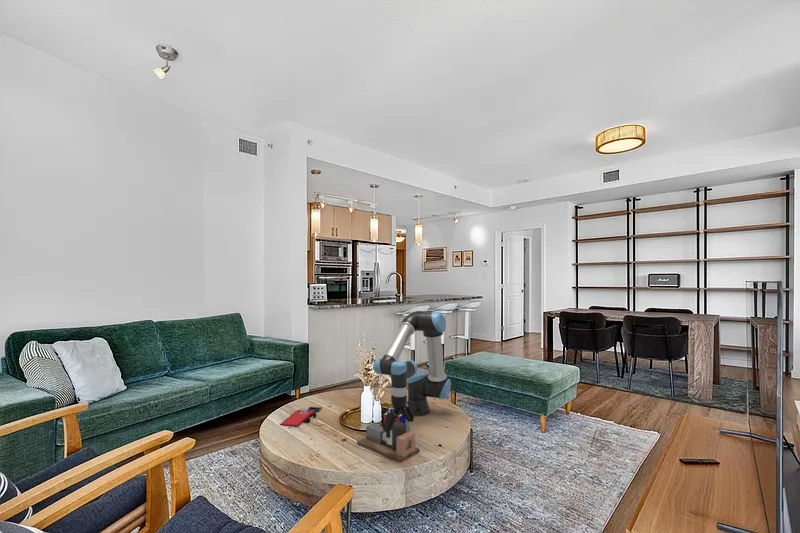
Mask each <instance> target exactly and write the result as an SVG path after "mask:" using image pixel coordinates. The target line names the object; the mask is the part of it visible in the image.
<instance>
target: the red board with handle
mask: <svg viewBox="0 0 800 533" xmlns="http://www.w3.org/2000/svg"><path fill="white" fill-rule="evenodd" d="M322 409H323V407H322V406H321V407H319V406H309V407H308V408H304V409H297V410H296V411H294V412H293V413H292V414H291V415H289V416H288V417H287V418H286V419H285V420H283V421H282V422H281V423H280V424H278V425H282V427H293V428H299V427H300V426H301V425H302V424H303V423H306V424H310V423H311V418H312V417H313V419H316V418H317V412H319V411H320V410H322Z"/></svg>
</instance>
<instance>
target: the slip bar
mask: <svg viewBox="0 0 800 533" xmlns="http://www.w3.org/2000/svg"><path fill="white" fill-rule="evenodd" d="M391 430H392V445H391V446H394V447H396V437H398V436H400V435H402V434H404V433H406V424H404V423H401V422H396V423H394V424H393V426H392V429H391ZM381 440H384V441H386V442H387V437H386V431H384V432H381ZM407 447H409V441H407V442H406V448H407Z"/></svg>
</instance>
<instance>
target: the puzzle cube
mask: <svg viewBox="0 0 800 533" xmlns="http://www.w3.org/2000/svg"><path fill="white" fill-rule="evenodd" d="M394 415H395V414H394ZM386 416H387V411H386V412H385V413H384V414H383V415H382V419H383V420H382V422H383V424H382V425H383V426H384V422H385V419H386ZM406 421H407V419H406V418H405V417H404V415H403V414H400V415H399V416H398V417H397V418H396V420H395V422H394V423H396V422H401V423H404V424H406ZM383 426H382V427H383Z"/></svg>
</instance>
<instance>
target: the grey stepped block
mask: <svg viewBox="0 0 800 533" xmlns="http://www.w3.org/2000/svg"><path fill="white" fill-rule="evenodd" d="M384 431H385V430H383V426H382V425H378V424H375V423H372V424H369V425H367V426H365V437H366V439H367V440H369V441H371V442H374V443H376V444H379V445H381V444H384V443H386V441H384V440H381V432H384Z"/></svg>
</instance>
